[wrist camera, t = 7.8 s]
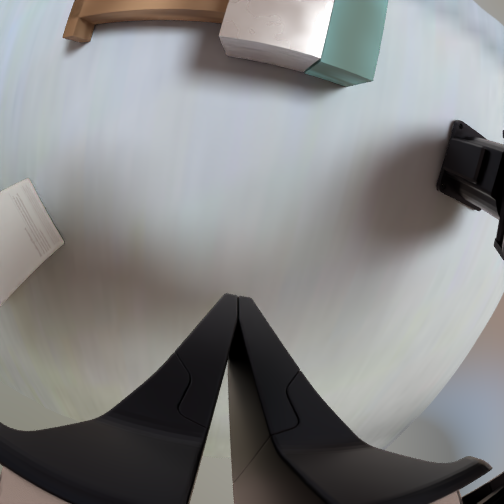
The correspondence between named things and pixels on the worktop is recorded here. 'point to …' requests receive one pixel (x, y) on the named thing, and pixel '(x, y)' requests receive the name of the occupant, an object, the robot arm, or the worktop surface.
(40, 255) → the supplement box
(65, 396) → the worktop surface
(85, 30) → the track
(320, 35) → the block
